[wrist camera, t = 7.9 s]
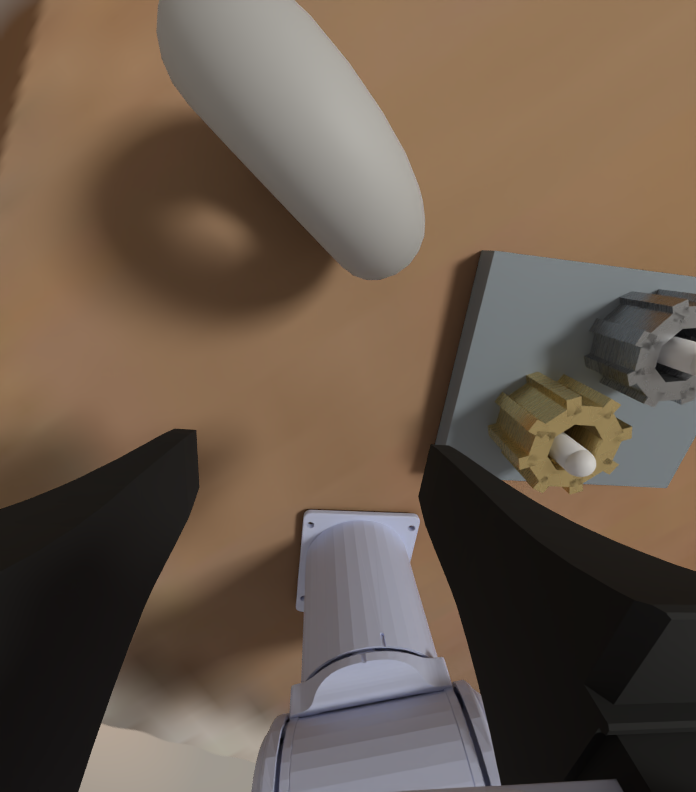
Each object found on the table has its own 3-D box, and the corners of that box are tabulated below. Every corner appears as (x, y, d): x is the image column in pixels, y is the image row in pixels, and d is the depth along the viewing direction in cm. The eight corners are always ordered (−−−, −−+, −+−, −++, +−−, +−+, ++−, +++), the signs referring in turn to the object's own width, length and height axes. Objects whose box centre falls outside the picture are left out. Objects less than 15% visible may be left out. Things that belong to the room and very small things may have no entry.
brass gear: (562, 459, 22) (604, 495, 19) (478, 454, 22) (507, 491, 18) (596, 376, 20) (649, 401, 17) (504, 368, 19) (541, 392, 16)
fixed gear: (664, 380, 21) (717, 401, 18) (576, 388, 20) (617, 410, 18) (693, 286, 18) (759, 293, 16) (596, 293, 18) (646, 302, 15)
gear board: (647, 474, 25) (744, 541, 20) (430, 462, 23) (467, 533, 18) (746, 284, 20) (914, 300, 15) (481, 250, 18) (555, 252, 13)
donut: (197, 116, 15) (18, -76, 6) (248, 45, 15) (132, -296, 5) (358, 286, 19) (397, 326, 9) (406, 235, 18) (502, 225, 9)
